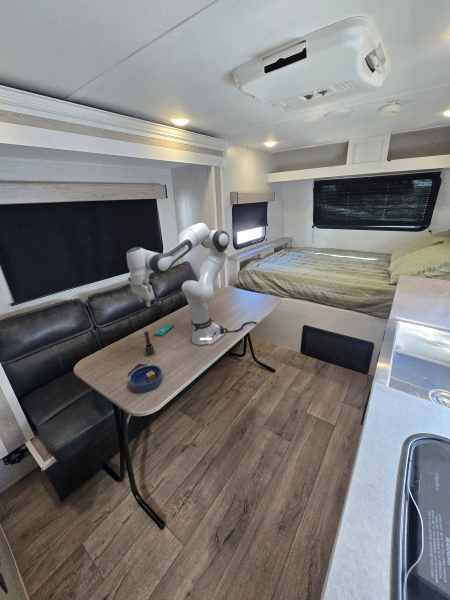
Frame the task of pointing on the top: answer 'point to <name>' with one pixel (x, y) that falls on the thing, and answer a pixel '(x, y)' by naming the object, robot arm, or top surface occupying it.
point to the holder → (149, 350)
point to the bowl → (145, 379)
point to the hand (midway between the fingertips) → (144, 304)
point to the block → (150, 376)
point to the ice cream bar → (138, 367)
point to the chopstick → (147, 338)
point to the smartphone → (163, 330)
